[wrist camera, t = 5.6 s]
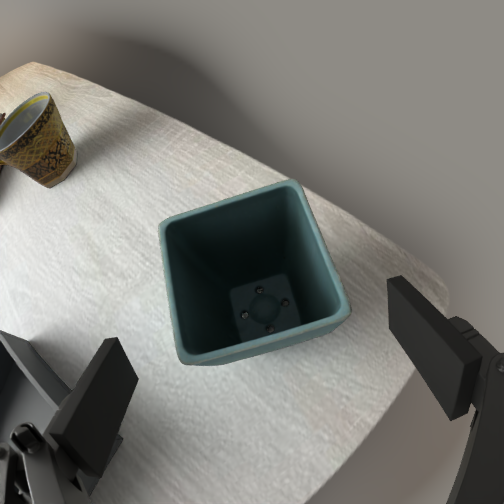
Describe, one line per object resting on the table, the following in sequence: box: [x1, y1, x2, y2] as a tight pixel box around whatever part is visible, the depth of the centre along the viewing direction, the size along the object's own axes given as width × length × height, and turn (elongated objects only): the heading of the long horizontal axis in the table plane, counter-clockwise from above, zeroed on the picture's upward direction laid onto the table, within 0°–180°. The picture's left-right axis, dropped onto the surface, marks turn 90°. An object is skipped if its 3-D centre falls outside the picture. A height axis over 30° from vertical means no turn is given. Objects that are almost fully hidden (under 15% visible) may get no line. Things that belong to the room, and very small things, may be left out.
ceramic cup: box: [0, 92, 77, 188], centre depth 32 cm, size 13×10×10 cm
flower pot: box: [158, 179, 352, 366], centre depth 21 cm, size 9×9×9 cm
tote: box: [0, 330, 123, 496], centre depth 20 cm, size 15×15×4 cm
